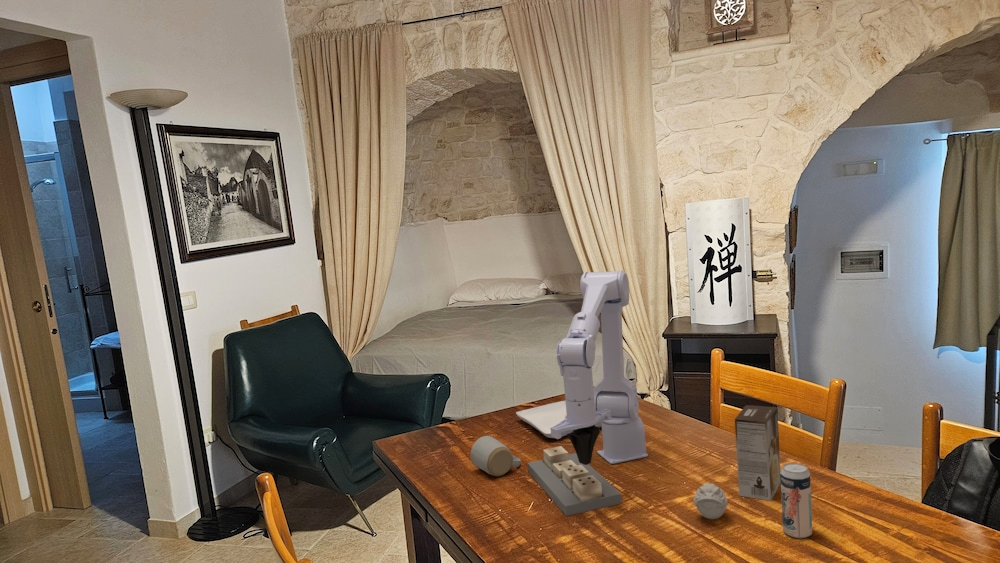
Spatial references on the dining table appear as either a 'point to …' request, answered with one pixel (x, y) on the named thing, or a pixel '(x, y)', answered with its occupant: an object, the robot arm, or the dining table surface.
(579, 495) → the beige square block
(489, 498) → the dining table surface
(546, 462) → the key
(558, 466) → the cream dice block
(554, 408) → the salad plate
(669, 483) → the dining table surface
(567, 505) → the grey slotted tray
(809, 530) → the beer can
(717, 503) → the frog figurine
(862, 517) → the dining table surface
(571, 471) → the beige small block
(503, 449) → the ceramic mug
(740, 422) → the coffee box
